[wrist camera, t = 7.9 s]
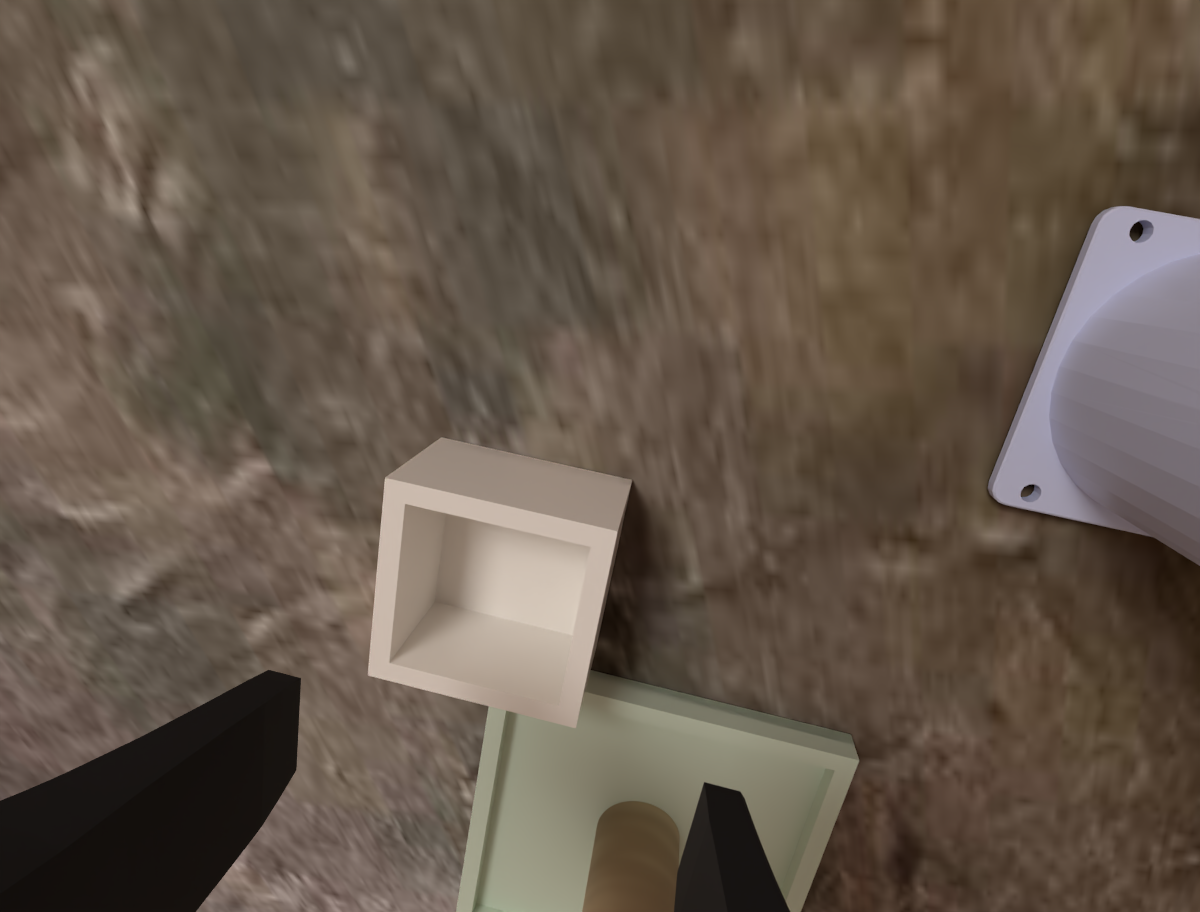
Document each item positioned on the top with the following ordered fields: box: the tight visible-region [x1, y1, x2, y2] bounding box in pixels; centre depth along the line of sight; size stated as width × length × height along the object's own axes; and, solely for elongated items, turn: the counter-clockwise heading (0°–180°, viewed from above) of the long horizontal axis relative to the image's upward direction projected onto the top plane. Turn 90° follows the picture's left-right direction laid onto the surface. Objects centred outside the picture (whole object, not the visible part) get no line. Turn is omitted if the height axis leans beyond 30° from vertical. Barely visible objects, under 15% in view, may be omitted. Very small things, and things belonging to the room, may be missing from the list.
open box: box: [368, 437, 632, 728], centre depth 20 cm, size 6×6×4 cm
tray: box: [456, 670, 859, 912], centre depth 24 cm, size 12×12×1 cm
